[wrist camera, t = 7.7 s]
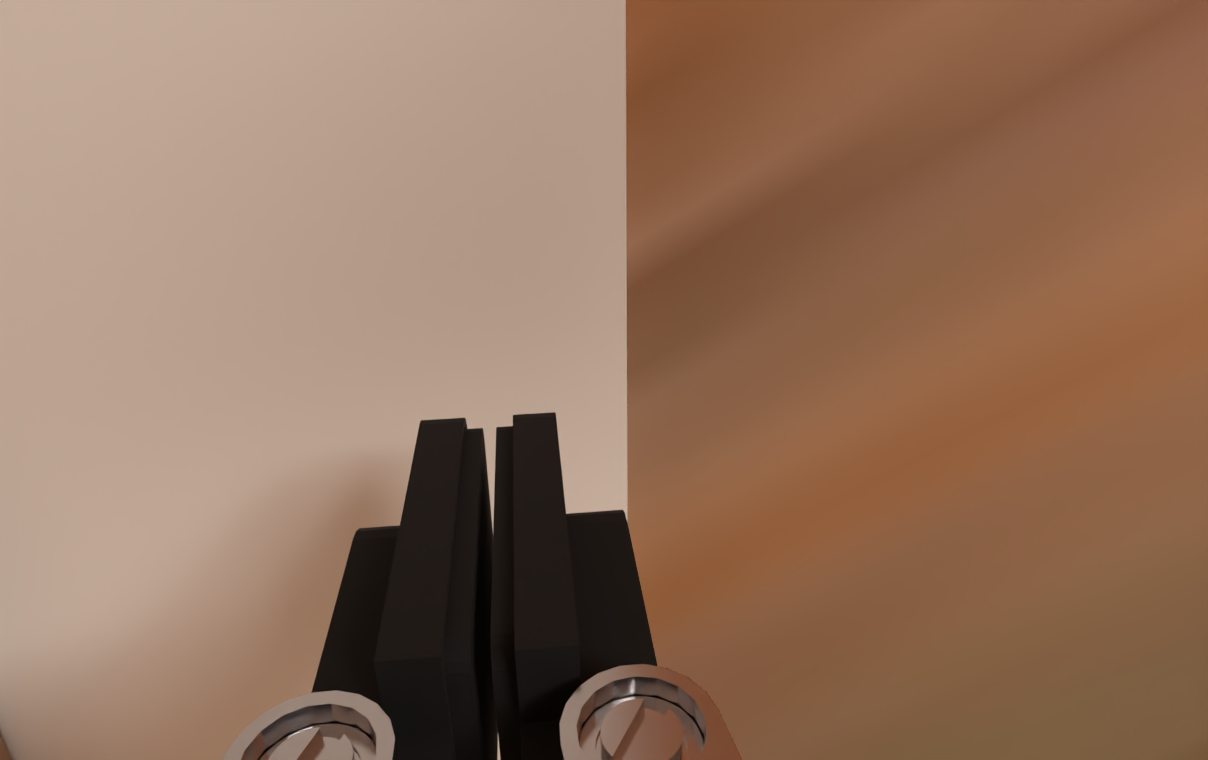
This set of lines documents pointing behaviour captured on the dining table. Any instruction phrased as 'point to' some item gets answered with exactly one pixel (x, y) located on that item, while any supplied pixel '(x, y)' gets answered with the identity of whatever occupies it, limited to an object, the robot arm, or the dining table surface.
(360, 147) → the board
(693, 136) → the dining table surface
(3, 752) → the tongs arm
